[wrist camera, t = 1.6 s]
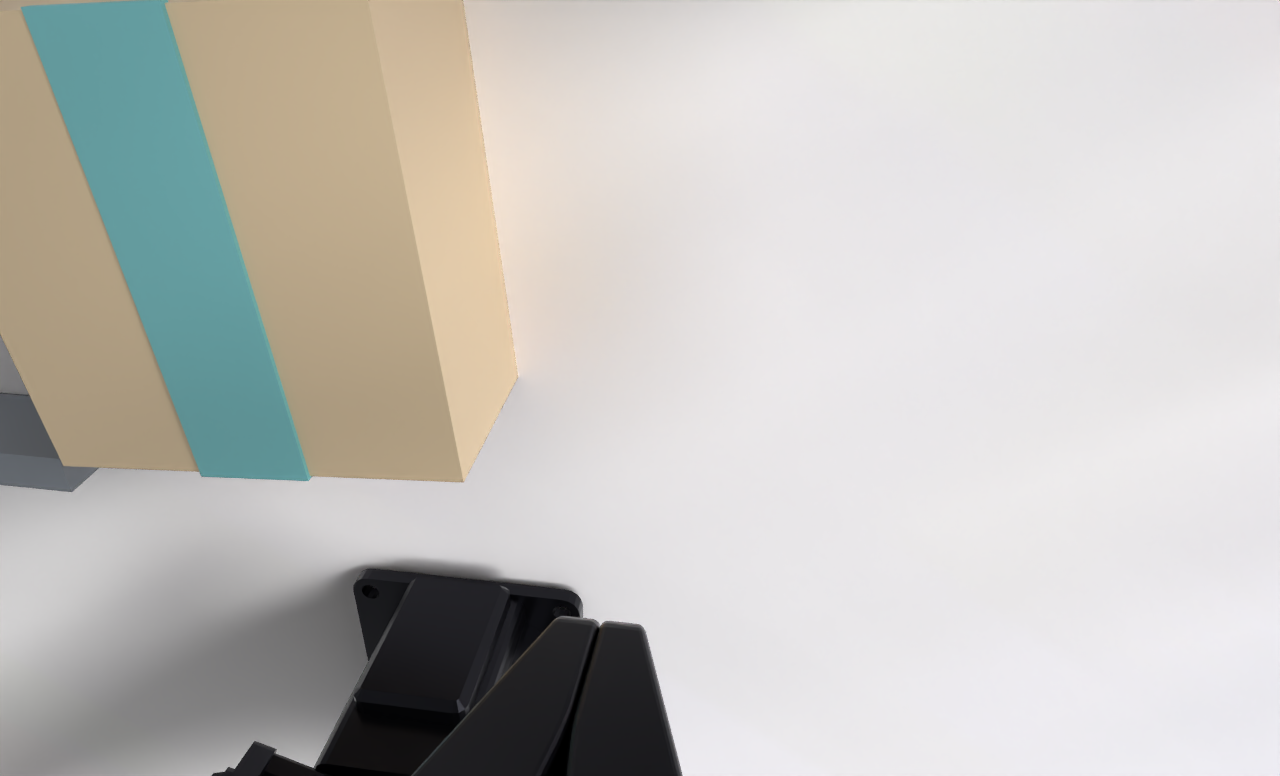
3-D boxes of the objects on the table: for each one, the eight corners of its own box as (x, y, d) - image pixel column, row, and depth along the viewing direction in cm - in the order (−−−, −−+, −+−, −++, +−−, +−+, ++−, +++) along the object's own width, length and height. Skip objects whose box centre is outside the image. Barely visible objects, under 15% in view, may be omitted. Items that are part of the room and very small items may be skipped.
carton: (521, 372, 21) (462, 487, 18) (185, 366, 23) (61, 470, 19) (461, -41, 17) (362, -10, 13) (43, -19, 18) (-160, 15, 14)
